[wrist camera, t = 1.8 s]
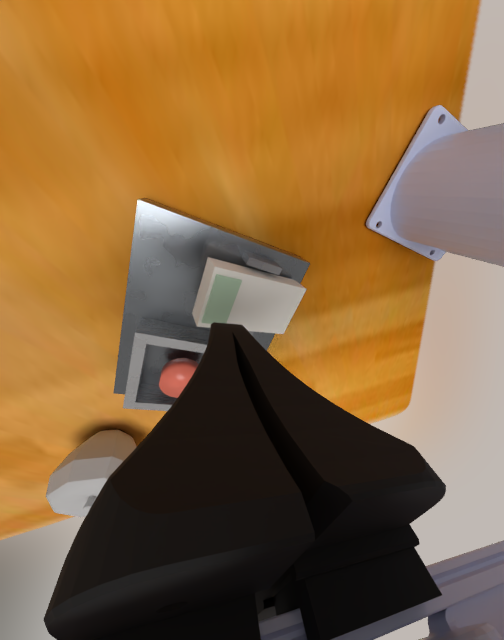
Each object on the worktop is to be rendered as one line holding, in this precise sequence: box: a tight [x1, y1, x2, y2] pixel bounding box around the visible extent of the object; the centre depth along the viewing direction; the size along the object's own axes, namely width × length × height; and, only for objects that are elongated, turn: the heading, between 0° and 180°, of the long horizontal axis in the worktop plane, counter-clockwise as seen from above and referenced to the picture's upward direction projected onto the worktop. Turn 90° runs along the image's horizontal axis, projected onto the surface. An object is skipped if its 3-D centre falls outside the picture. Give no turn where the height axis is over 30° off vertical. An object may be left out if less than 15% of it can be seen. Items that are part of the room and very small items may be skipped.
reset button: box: [159, 358, 199, 398], centre depth 17 cm, size 3×3×1 cm
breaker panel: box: [114, 198, 310, 411], centre depth 18 cm, size 12×16×4 cm
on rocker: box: [192, 257, 306, 334], centre depth 15 cm, size 7×4×2 cm, turn 69°
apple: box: [46, 430, 136, 517], centre depth 22 cm, size 8×8×7 cm
